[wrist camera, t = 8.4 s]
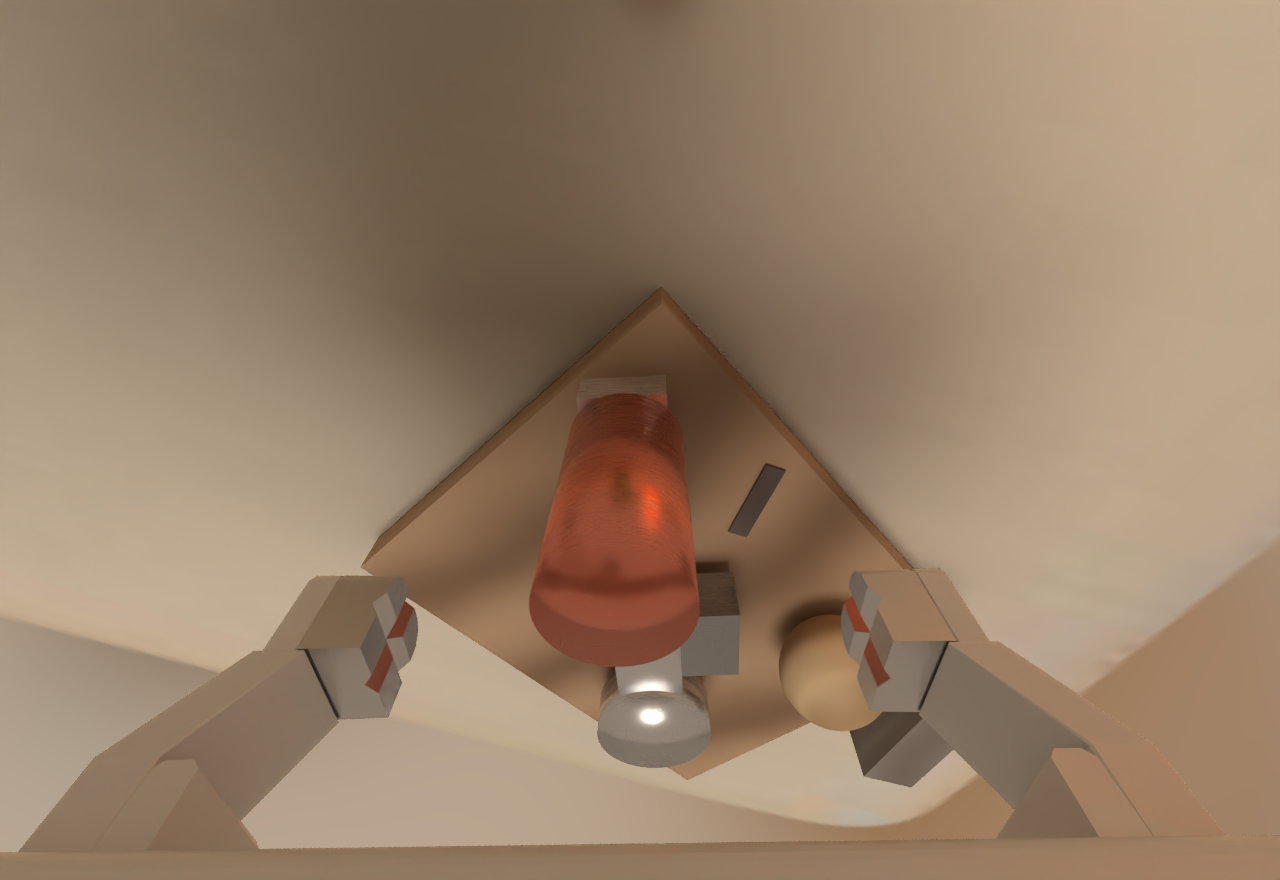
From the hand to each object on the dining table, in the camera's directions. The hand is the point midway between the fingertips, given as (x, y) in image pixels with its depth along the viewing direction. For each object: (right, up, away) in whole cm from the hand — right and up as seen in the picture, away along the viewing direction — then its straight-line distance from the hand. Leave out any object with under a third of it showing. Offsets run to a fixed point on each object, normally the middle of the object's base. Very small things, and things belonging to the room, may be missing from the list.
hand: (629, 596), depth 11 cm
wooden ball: (+7, -5, +12) cm, 15 cm away
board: (+2, -3, +13) cm, 13 cm away
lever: (+1, -2, +10) cm, 10 cm away
